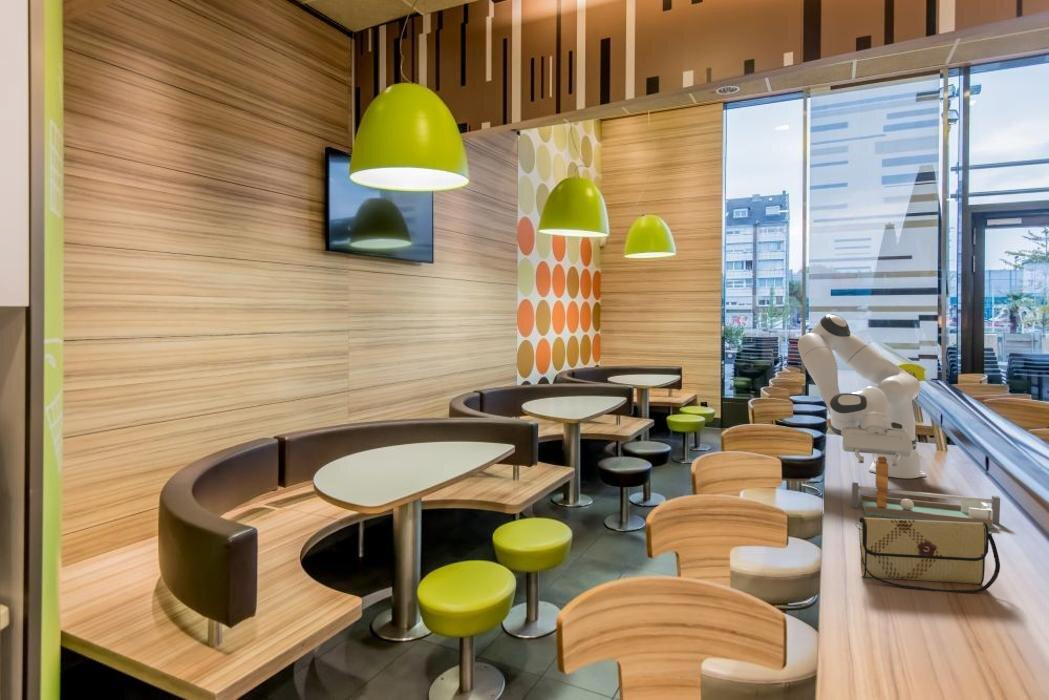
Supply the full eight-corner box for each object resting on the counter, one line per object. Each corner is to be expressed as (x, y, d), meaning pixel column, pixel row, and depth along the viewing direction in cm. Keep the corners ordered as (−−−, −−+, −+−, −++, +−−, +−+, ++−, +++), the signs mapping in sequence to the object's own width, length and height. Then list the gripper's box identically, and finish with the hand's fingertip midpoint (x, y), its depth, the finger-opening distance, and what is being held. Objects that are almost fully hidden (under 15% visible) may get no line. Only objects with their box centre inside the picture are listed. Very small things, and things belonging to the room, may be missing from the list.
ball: (899, 507, 185) (899, 496, 185) (912, 508, 183) (912, 497, 183) (901, 511, 182) (901, 499, 181) (914, 512, 180) (915, 501, 180)
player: (875, 502, 188) (876, 454, 187) (885, 503, 187) (886, 454, 186) (876, 506, 184) (877, 456, 183) (887, 507, 183) (888, 457, 182)
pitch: (850, 500, 195) (850, 477, 194) (991, 516, 179) (992, 490, 178) (853, 513, 183) (854, 488, 183) (1005, 530, 167) (1006, 503, 166)
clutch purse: (863, 587, 135) (864, 525, 134) (852, 573, 142) (853, 514, 141) (1007, 596, 130) (1009, 531, 129) (988, 582, 136) (990, 520, 136)
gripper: (841, 421, 199) (842, 455, 191) (911, 425, 190) (915, 461, 182) (840, 431, 203) (841, 465, 195) (908, 436, 195) (912, 472, 186)
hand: (877, 463), depth 189 cm, fingers open, 8 cm apart
